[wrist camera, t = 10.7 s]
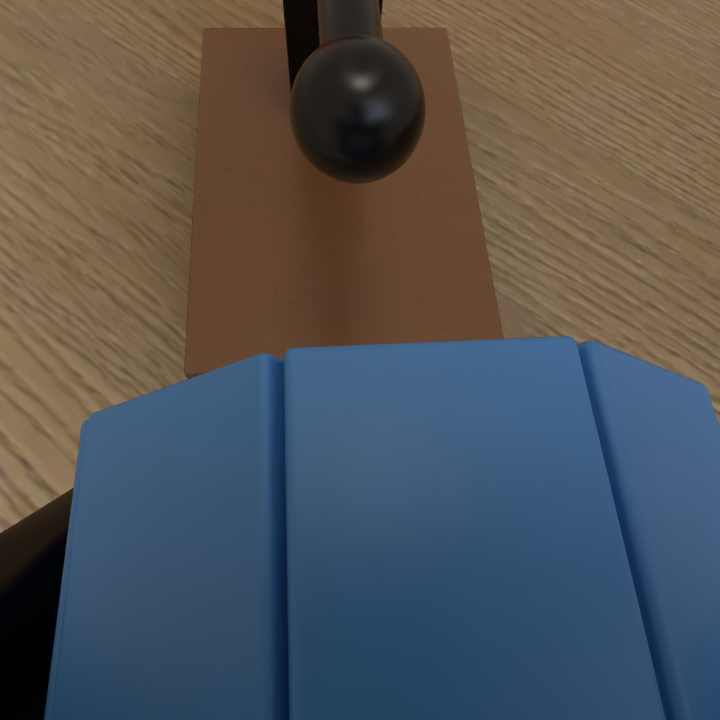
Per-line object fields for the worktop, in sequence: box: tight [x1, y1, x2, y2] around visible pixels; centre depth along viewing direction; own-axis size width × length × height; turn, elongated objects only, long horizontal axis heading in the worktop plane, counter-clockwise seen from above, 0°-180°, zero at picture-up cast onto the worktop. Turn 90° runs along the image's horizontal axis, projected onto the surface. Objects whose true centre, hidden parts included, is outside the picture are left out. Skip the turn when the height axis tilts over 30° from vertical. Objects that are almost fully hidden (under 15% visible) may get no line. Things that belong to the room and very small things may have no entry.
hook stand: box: [184, 0, 503, 379], centre depth 16 cm, size 15×10×11 cm, turn 4°
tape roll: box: [44, 336, 720, 720], centre depth 7 cm, size 3×8×7 cm, turn 94°
